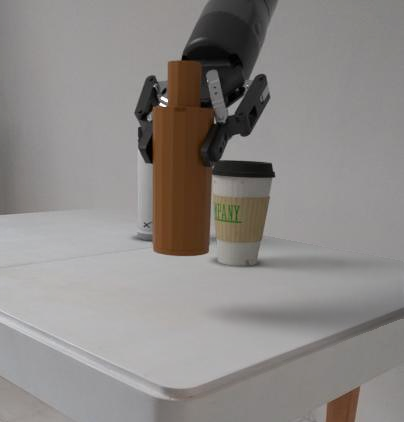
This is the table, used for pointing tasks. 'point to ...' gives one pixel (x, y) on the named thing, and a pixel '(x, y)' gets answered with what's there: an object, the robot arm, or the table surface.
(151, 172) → the travel mug
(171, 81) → the amber bottle
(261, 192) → the coffee cup
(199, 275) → the table surface
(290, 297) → the table surface
